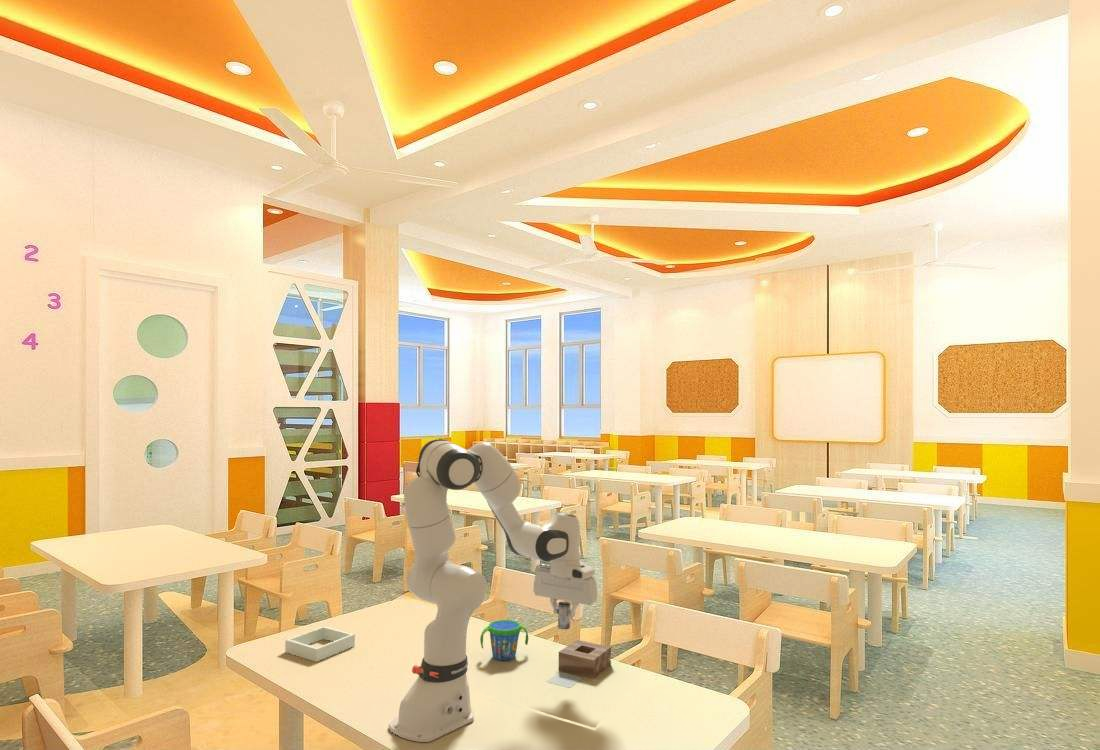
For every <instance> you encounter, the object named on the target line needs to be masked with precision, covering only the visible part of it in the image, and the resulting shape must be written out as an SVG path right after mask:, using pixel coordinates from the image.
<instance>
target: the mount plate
mask: <svg viewBox="0 0 1100 750" xmlns="http://www.w3.org/2000/svg"><path fill="white" fill-rule="evenodd" d="M581 680H583V676H579V675H575V674H571V673H567V672H563V671H559V672H558V673H556V674H555V675H553V676H551V678H549V679H548V680H546V681H545V682H546V683H549V684H554V685H558V686H560V687H565V688H568V689H571V688H572V687H574V686H575V685H576V684H577V683H578V682H580V681H581Z"/></svg>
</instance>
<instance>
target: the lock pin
mask: <svg viewBox="0 0 1100 750" xmlns="http://www.w3.org/2000/svg"><path fill="white" fill-rule="evenodd" d="M557 605H558V614H557V615H558V616H557V629H559V630H564V631H565V630H569V629H570V628H571V617H569V616H568V610H570V609H571V602H569V601H559V602H557Z"/></svg>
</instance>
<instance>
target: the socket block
mask: <svg viewBox="0 0 1100 750" xmlns="http://www.w3.org/2000/svg"><path fill="white" fill-rule="evenodd" d="M610 659H611V660H610ZM611 665H612V647H611V646H609V645H603V644H598V643H596V642H595V643H593V642H590V641H589V642H588V641H585V640H581V639H576V640H575V641H572V642H571V643H570V644H569V645H567V646H565V647H564V648H563V649H561V650H560V651H558V671H559V672H563V673H567V674H571V675H575V676H579V677H583V678H584V677H585V678H589V679H593V680H594V679H595V678H597V677H598V676H599V675H600V674H602V673H603V672H604V671H605V670H607V668H609V667H610V666H611Z"/></svg>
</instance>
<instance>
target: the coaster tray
mask: <svg viewBox="0 0 1100 750" xmlns="http://www.w3.org/2000/svg"><path fill="white" fill-rule="evenodd" d="M355 637H356V634H354V633H351V632H347V631H345V630H344V631H343V630H340V629H336V628H333V627H330V626H325V625H324V626H320V627H317V628H315V629H312V630H310V631H306V632H304V633H301V634H298V635H295V636H292V637H289V638H287V639H285V640H284V641H285V642H284V643H285V644H284V646H285V647H284V649H285V650H284V653H287V654H289V653H290V655H293V656H295V655H296V656H295V657H298V656H299V658H301V659H302V658H303V659H305V658H306V660H308V659H309V661H311V660H312V661H311V662H314V661H316V662H315V663H317V661H318V662H320V660H321V661H323V660H326V659H328V658H330V657H332V655H333V656H335V655H337V654H340V653H342V652H344V650H345V651H347V650H349V649H348V648H350V649H352V648H355V645H356V642H355V639H356V638H355ZM325 639H326V641H328V640H330V642H328V643H326V644H323V645H320V646H318V647H316V646H313V645H312V644H314V643H317V642H320V641H322V640H325ZM332 641H333V642H332ZM311 643H312V644H311ZM351 647H352V648H351ZM346 649H347V650H346ZM341 651H342V652H341ZM339 652H340V653H339ZM334 654H335V655H334ZM329 656H330V657H329ZM327 657H328V658H327ZM322 659H323V660H322Z"/></svg>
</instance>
